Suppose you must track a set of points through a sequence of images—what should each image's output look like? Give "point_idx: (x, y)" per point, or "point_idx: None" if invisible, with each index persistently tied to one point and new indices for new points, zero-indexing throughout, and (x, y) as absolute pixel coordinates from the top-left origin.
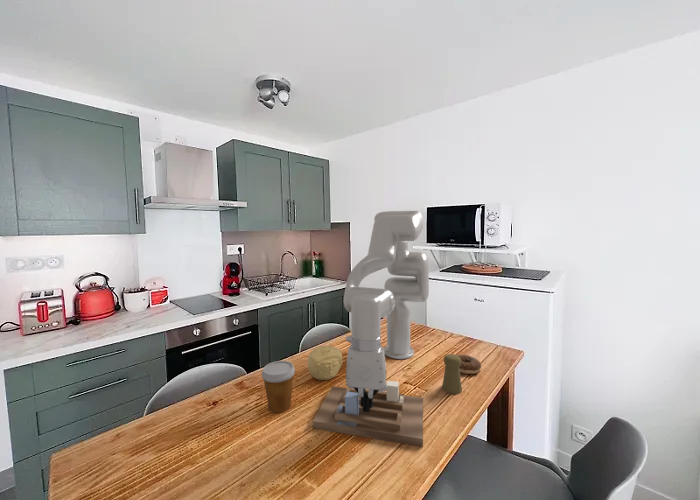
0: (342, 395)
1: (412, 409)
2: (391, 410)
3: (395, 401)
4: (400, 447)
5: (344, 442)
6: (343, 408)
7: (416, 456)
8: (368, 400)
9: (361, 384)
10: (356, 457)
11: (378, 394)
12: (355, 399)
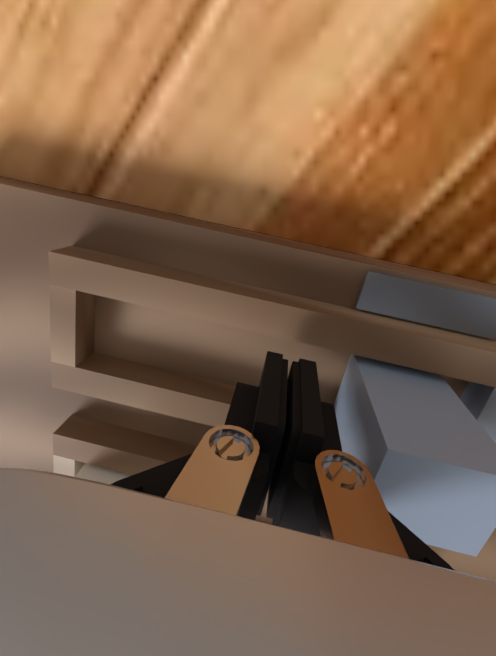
0: None
1: (19, 419)
2: (115, 393)
3: (96, 470)
4: (94, 160)
5: (440, 190)
6: None
7: (3, 87)
8: (258, 408)
9: (400, 644)
10: (370, 46)
11: None
12: (399, 443)
